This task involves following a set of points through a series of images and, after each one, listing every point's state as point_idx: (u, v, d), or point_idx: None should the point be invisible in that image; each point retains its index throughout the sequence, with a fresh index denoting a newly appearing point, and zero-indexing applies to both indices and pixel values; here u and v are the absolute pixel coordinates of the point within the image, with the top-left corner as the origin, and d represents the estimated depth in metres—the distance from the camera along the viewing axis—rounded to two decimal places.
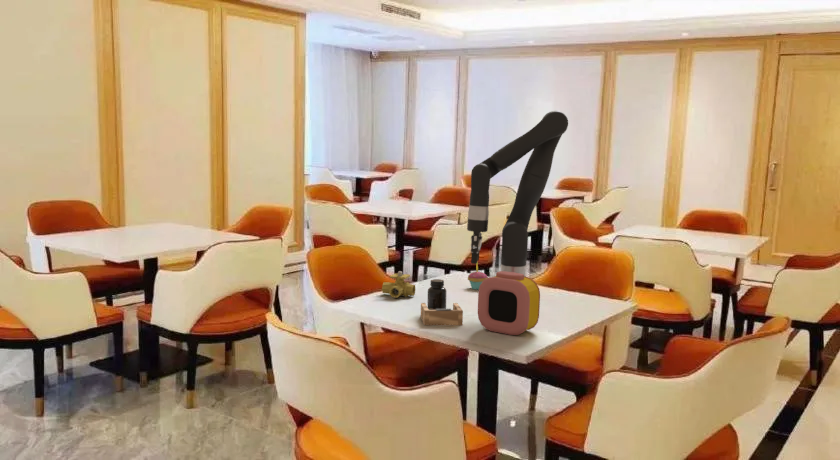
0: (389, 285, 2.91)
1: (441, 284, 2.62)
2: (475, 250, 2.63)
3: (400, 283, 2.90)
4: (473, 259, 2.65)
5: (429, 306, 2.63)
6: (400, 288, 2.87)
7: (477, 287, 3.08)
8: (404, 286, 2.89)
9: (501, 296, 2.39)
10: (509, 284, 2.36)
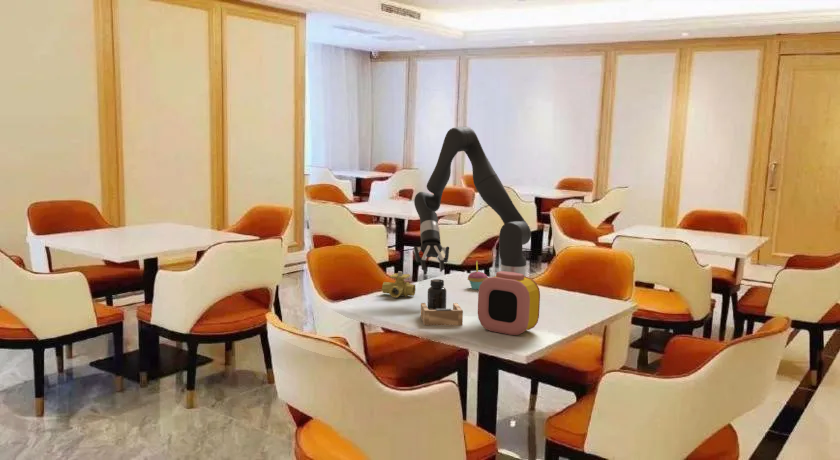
0: (389, 285, 2.91)
1: (441, 284, 2.62)
2: (416, 258, 2.78)
3: (400, 283, 2.90)
4: (421, 267, 2.76)
5: (429, 306, 2.63)
6: (400, 288, 2.87)
7: (477, 287, 3.08)
8: (404, 286, 2.89)
9: (501, 296, 2.39)
10: (509, 284, 2.36)
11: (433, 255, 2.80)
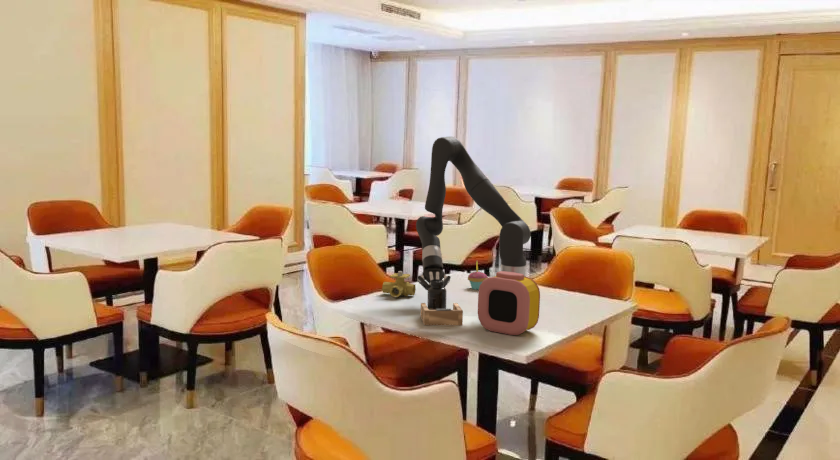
0: (389, 285, 2.92)
1: (441, 284, 2.62)
2: (426, 286, 2.71)
3: (400, 283, 2.90)
4: None
5: (429, 306, 2.63)
6: (400, 288, 2.87)
7: (477, 287, 3.08)
8: (404, 286, 2.90)
9: (501, 296, 2.39)
10: (509, 284, 2.36)
11: None
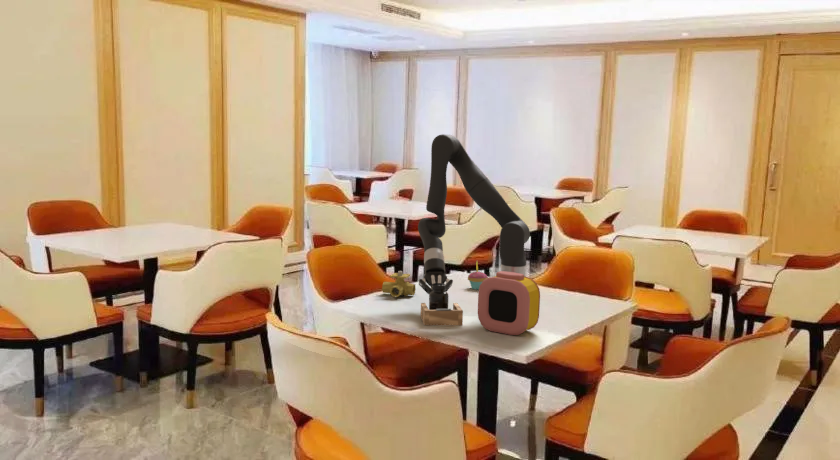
0: (389, 285, 2.92)
1: (443, 288, 2.55)
2: (427, 290, 2.64)
3: (400, 282, 2.91)
4: None
5: None
6: (400, 287, 2.88)
7: (477, 287, 3.08)
8: (404, 285, 2.90)
9: (501, 296, 2.39)
10: (509, 284, 2.36)
11: None
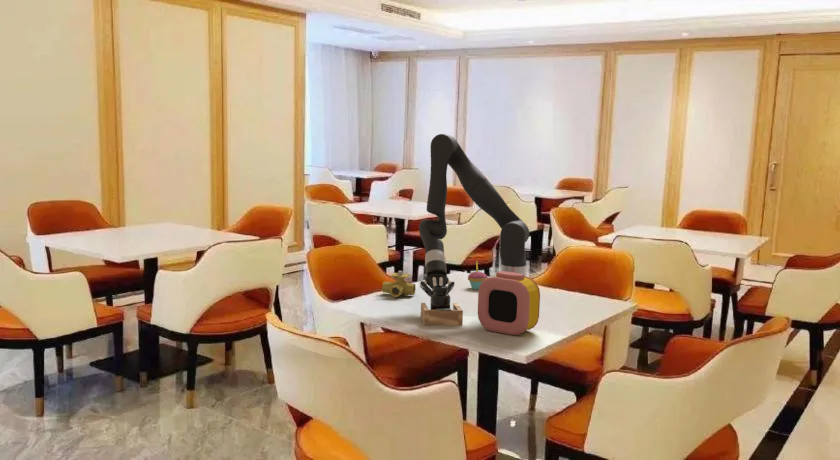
0: (389, 284, 2.92)
1: (445, 290, 2.52)
2: (429, 292, 2.60)
3: (400, 282, 2.91)
4: None
5: None
6: (400, 287, 2.88)
7: (477, 287, 3.08)
8: (404, 285, 2.90)
9: (501, 296, 2.39)
10: (509, 284, 2.36)
11: None
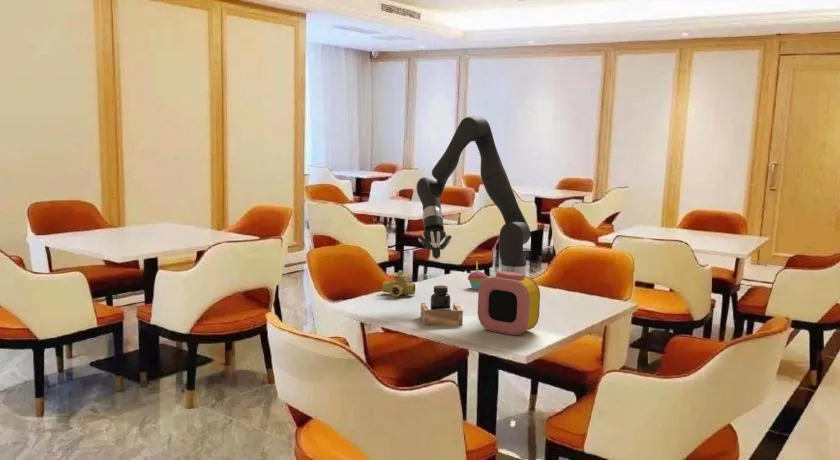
0: (389, 284, 2.93)
1: (445, 290, 2.51)
2: (427, 245, 2.72)
3: (400, 282, 2.91)
4: (432, 254, 2.70)
5: None
6: (401, 287, 2.88)
7: (477, 287, 3.08)
8: (404, 285, 2.91)
9: (501, 296, 2.39)
10: (509, 284, 2.36)
11: None
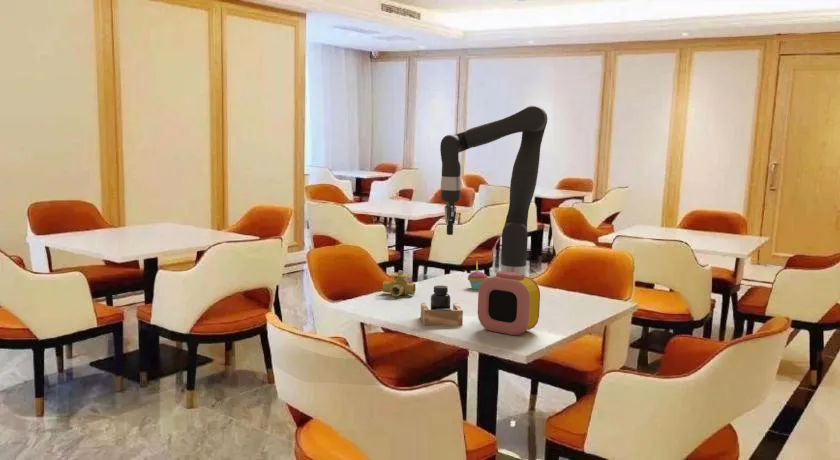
0: (389, 284, 2.93)
1: (445, 290, 2.51)
2: (452, 222, 2.73)
3: (400, 282, 2.92)
4: (449, 230, 2.75)
5: None
6: (401, 287, 2.89)
7: (477, 287, 3.08)
8: (404, 285, 2.91)
9: (501, 296, 2.39)
10: (509, 284, 2.36)
11: None
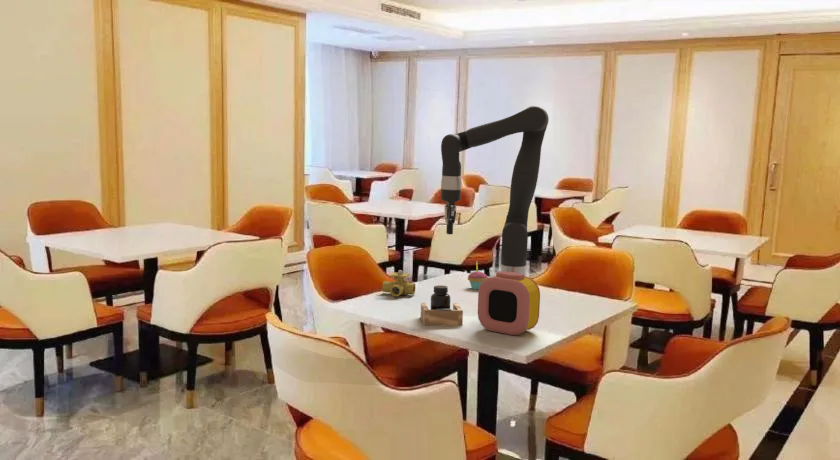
0: (389, 284, 2.93)
1: (445, 290, 2.51)
2: (452, 221, 2.72)
3: (400, 282, 2.92)
4: (449, 230, 2.75)
5: None
6: (401, 287, 2.89)
7: (477, 287, 3.08)
8: (404, 285, 2.91)
9: (501, 296, 2.39)
10: (509, 284, 2.36)
11: None
